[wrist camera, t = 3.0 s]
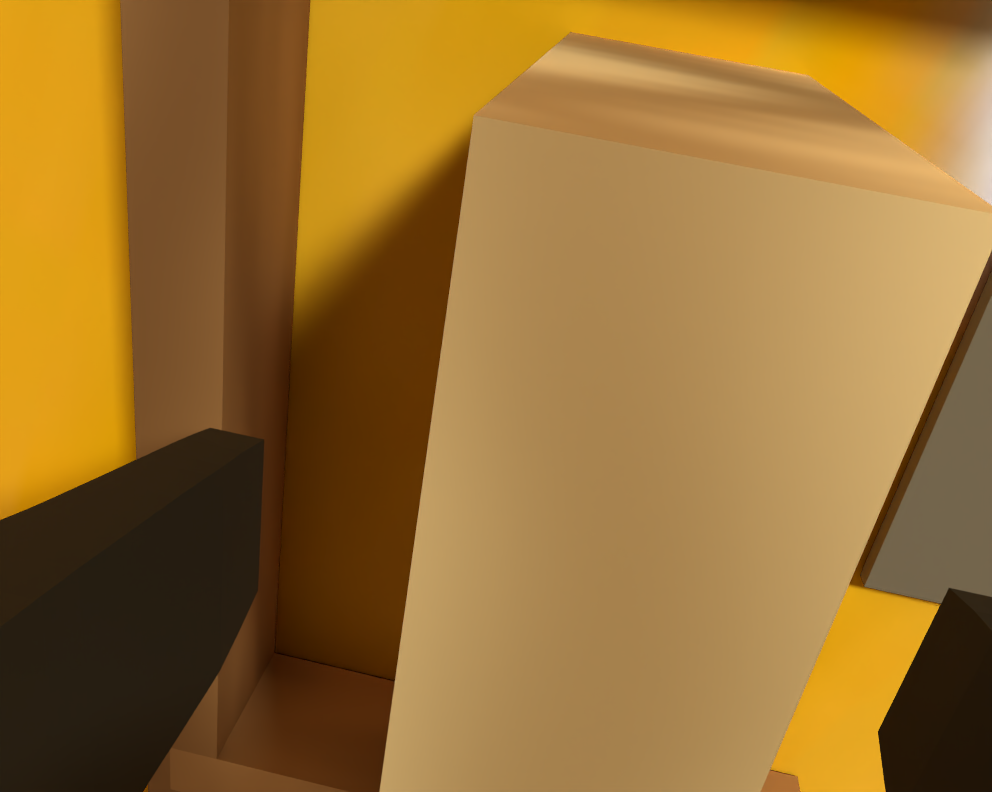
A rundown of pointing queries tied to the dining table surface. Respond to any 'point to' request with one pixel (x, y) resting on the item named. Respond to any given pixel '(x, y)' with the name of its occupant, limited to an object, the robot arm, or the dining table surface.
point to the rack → (235, 359)
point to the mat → (945, 485)
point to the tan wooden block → (662, 418)
